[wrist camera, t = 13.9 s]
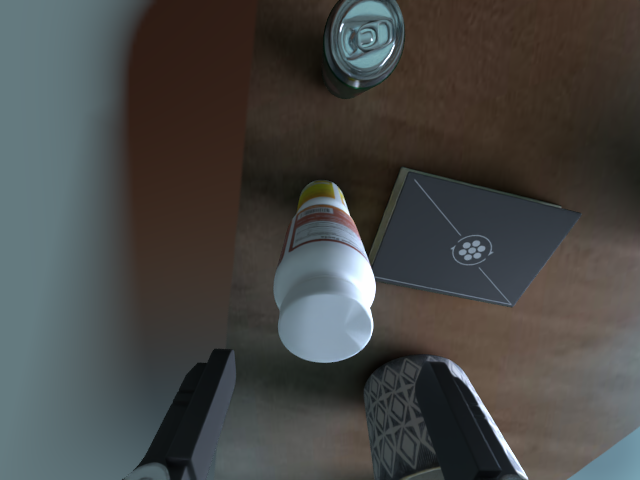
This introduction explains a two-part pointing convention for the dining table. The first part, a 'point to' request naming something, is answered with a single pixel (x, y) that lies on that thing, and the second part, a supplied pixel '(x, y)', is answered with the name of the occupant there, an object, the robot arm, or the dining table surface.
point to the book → (464, 238)
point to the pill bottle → (324, 286)
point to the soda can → (361, 45)
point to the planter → (408, 422)
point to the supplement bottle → (322, 195)
